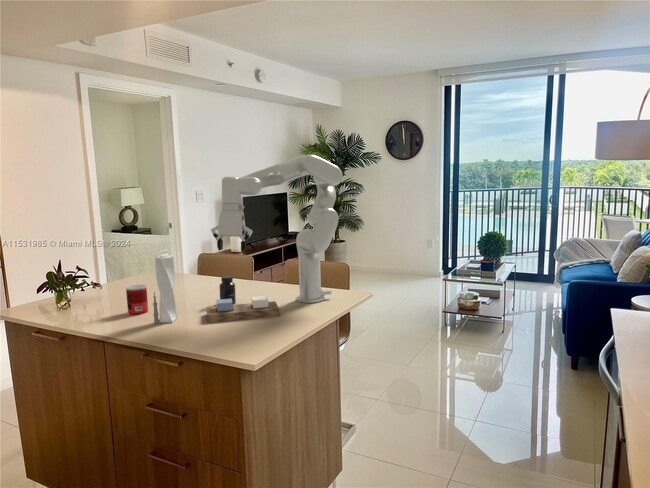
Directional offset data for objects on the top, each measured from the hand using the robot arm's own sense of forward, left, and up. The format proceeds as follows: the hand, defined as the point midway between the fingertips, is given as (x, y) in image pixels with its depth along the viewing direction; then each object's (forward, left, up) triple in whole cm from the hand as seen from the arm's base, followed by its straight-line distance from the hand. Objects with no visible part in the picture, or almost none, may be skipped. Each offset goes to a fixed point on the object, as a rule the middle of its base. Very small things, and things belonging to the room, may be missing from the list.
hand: (231, 250), depth 193 cm
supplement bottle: (+2, -15, -26) cm, 30 cm away
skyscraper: (+26, +3, -26) cm, 37 cm away
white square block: (-10, +5, -23) cm, 25 cm away
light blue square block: (+4, +5, -23) cm, 24 cm away
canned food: (+39, -13, -26) cm, 49 cm away
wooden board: (-3, +5, -26) cm, 26 cm away
